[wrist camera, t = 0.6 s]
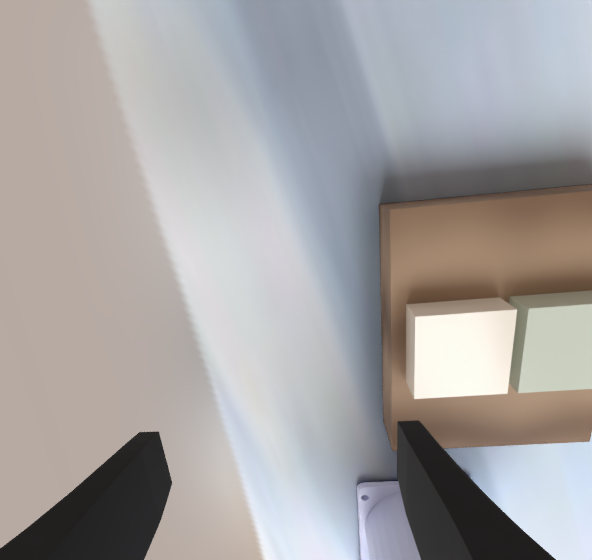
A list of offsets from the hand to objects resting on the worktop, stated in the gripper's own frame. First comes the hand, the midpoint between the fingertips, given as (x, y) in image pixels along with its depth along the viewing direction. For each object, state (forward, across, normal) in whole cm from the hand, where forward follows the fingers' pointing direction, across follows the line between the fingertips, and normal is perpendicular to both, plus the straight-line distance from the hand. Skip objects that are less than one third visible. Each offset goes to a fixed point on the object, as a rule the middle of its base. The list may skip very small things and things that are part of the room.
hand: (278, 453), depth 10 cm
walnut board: (+10, -11, +1) cm, 15 cm away
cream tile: (+8, -8, +1) cm, 11 cm away
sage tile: (+8, -13, +1) cm, 15 cm away
